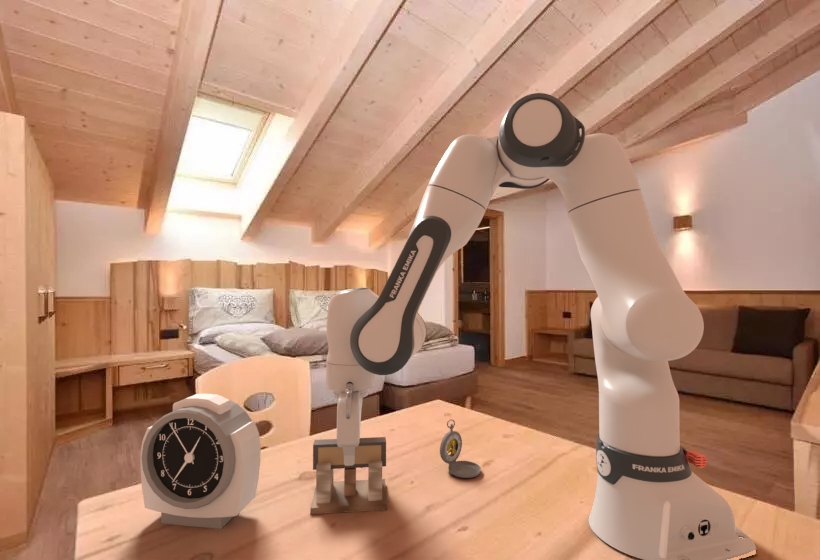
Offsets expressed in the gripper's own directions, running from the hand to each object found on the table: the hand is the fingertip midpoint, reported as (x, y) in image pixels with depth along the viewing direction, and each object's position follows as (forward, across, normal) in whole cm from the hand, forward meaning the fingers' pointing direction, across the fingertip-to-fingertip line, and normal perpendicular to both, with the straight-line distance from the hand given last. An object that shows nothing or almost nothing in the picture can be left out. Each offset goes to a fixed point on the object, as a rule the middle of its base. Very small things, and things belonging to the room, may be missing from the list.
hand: (350, 452), depth 73 cm
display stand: (+8, 0, 0) cm, 8 cm away
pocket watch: (+8, +9, -23) cm, 26 cm away
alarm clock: (+8, -3, +25) cm, 26 cm away
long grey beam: (+2, 0, 0) cm, 2 cm away
